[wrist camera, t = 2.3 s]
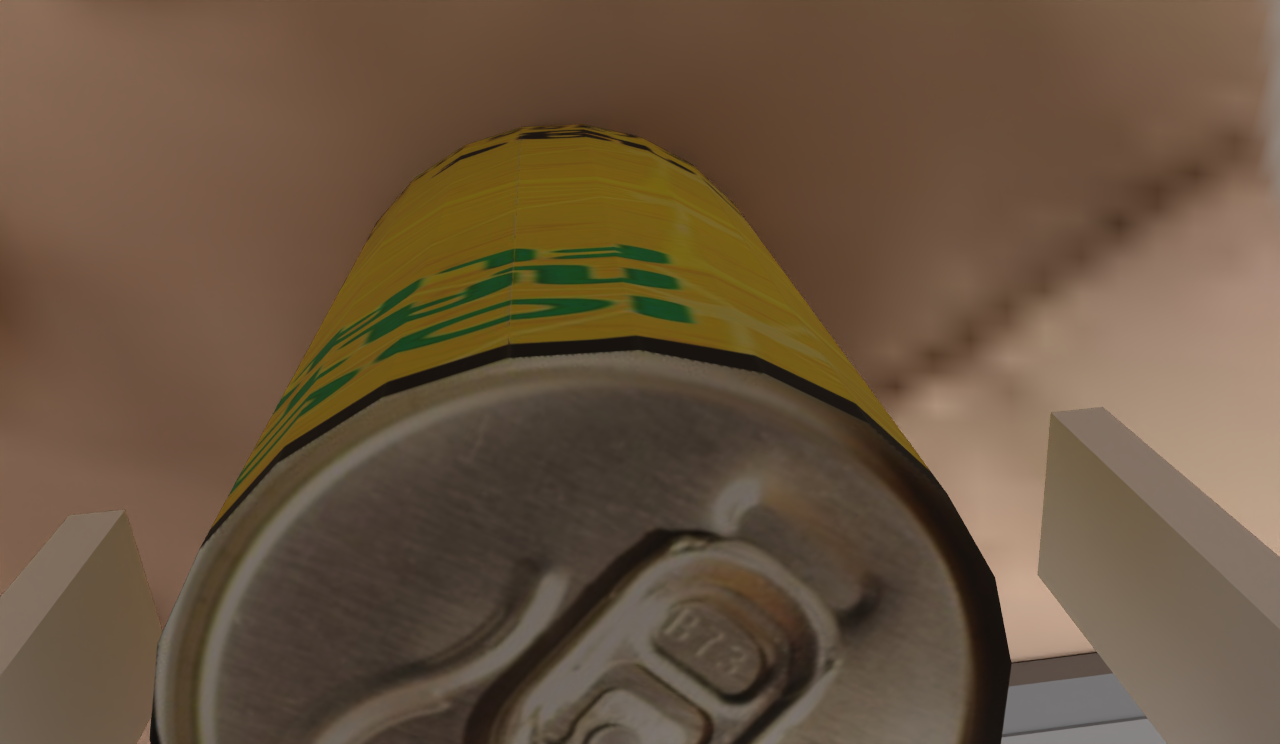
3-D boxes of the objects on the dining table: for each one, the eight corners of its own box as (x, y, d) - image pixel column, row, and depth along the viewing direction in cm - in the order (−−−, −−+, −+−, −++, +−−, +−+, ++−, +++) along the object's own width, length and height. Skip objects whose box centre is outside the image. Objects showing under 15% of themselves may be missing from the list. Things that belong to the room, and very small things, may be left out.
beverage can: (266, 394, 22) (-5, 861, 11) (501, 27, 20) (459, 150, 9) (615, 588, 25) (681, 1119, 14) (860, 285, 22) (1181, 632, 11)
